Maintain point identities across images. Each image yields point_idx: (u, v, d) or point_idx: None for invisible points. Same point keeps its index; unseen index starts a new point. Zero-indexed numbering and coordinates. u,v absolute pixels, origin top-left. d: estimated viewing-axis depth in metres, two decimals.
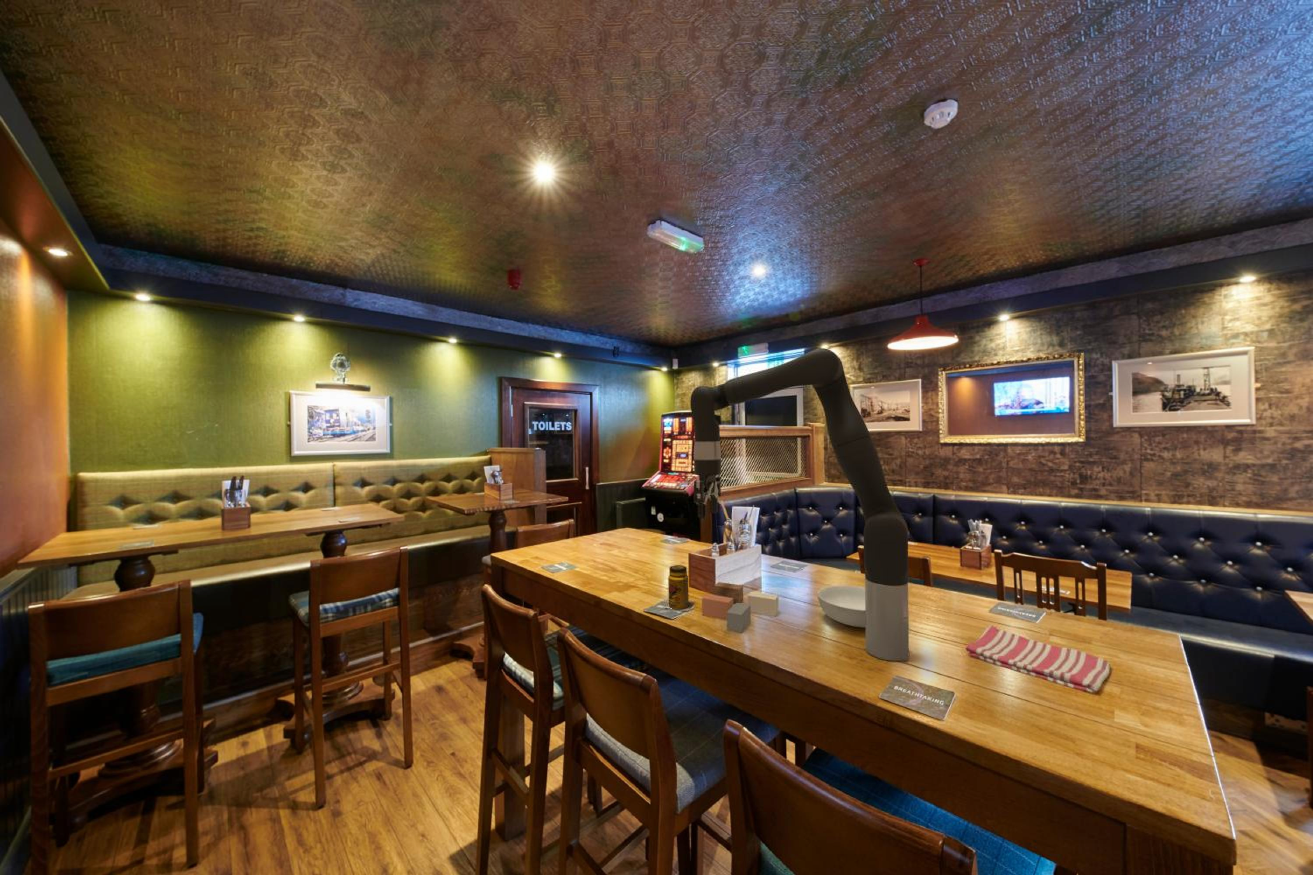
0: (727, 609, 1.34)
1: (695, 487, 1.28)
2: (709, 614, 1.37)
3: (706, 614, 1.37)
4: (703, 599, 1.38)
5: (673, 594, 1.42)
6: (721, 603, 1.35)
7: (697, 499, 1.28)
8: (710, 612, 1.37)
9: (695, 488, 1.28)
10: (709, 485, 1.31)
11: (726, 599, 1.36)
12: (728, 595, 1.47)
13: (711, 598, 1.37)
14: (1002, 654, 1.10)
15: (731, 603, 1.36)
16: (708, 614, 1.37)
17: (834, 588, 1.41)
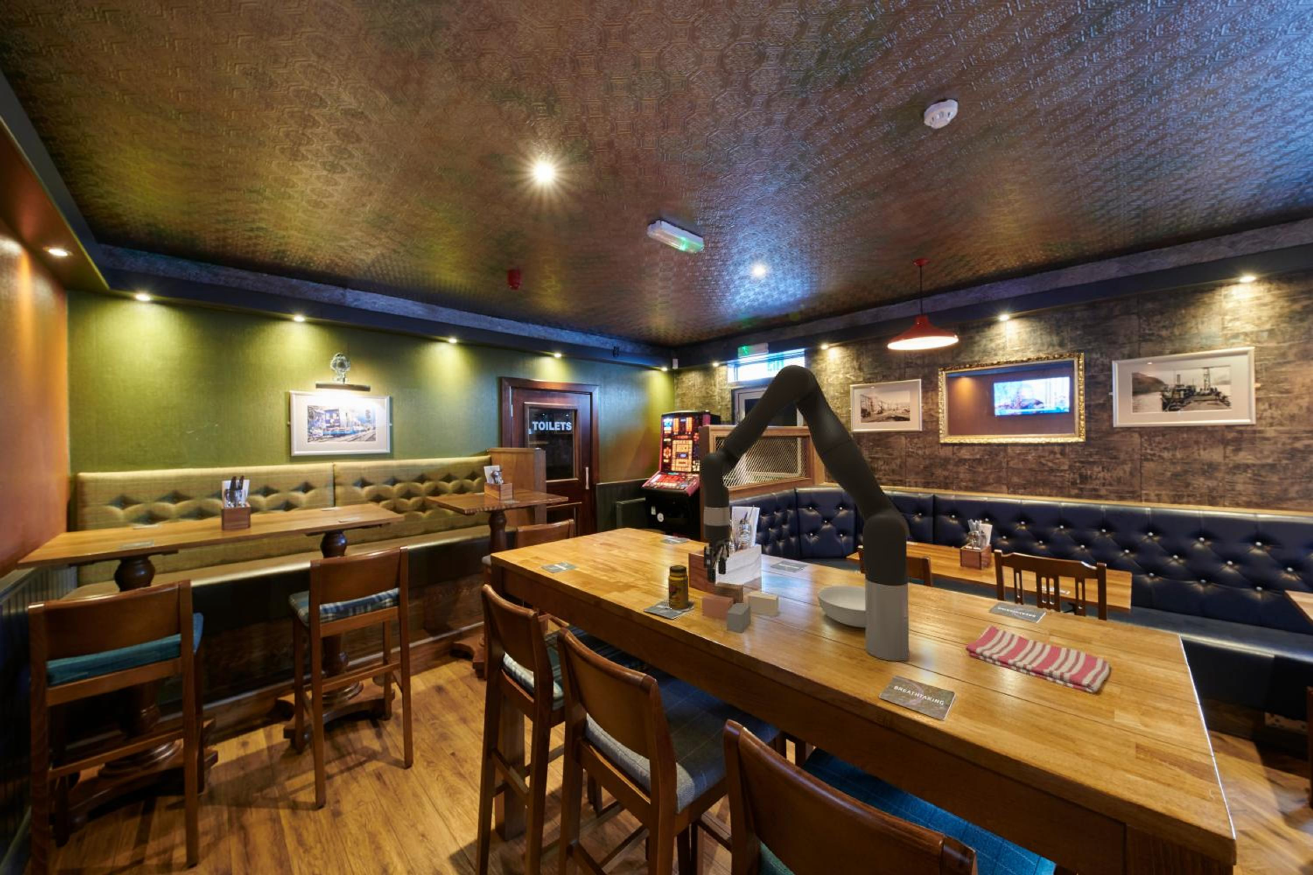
0: (727, 609, 1.34)
1: (705, 553, 1.32)
2: (709, 614, 1.37)
3: (706, 614, 1.37)
4: (703, 599, 1.38)
5: (673, 594, 1.42)
6: (721, 603, 1.35)
7: (707, 565, 1.31)
8: (710, 612, 1.37)
9: (705, 554, 1.32)
10: (718, 550, 1.35)
11: (726, 599, 1.36)
12: (728, 595, 1.47)
13: (711, 598, 1.37)
14: (1002, 654, 1.10)
15: (731, 603, 1.36)
16: (708, 614, 1.37)
17: (834, 588, 1.41)
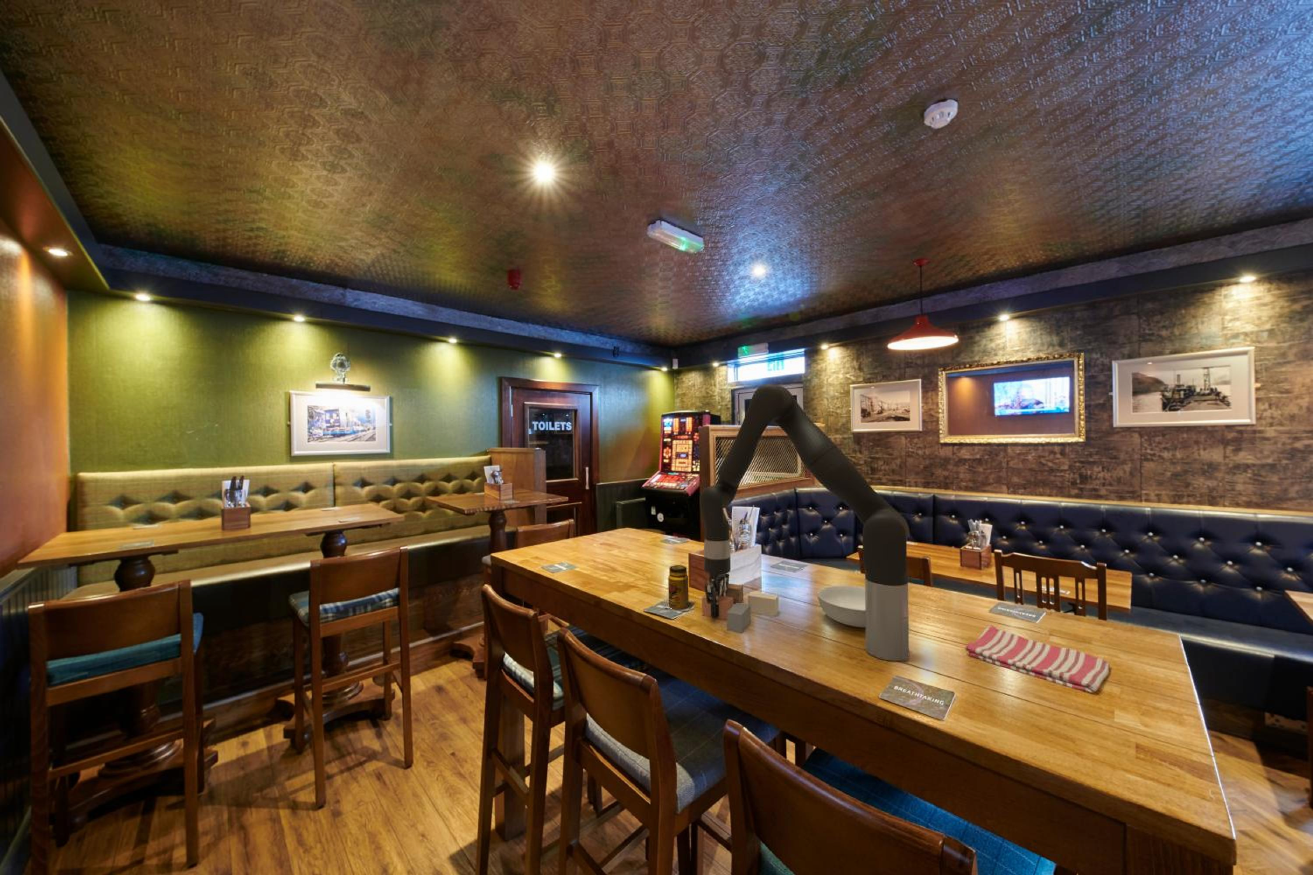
0: (727, 609, 1.34)
1: (707, 591, 1.32)
2: (709, 613, 1.37)
3: (706, 614, 1.37)
4: (703, 599, 1.38)
5: (673, 594, 1.42)
6: (721, 603, 1.35)
7: (710, 600, 1.33)
8: (710, 612, 1.37)
9: (707, 592, 1.33)
10: (719, 584, 1.35)
11: (726, 599, 1.36)
12: (728, 595, 1.47)
13: None
14: (1001, 654, 1.10)
15: (731, 603, 1.36)
16: (708, 614, 1.37)
17: (834, 588, 1.41)
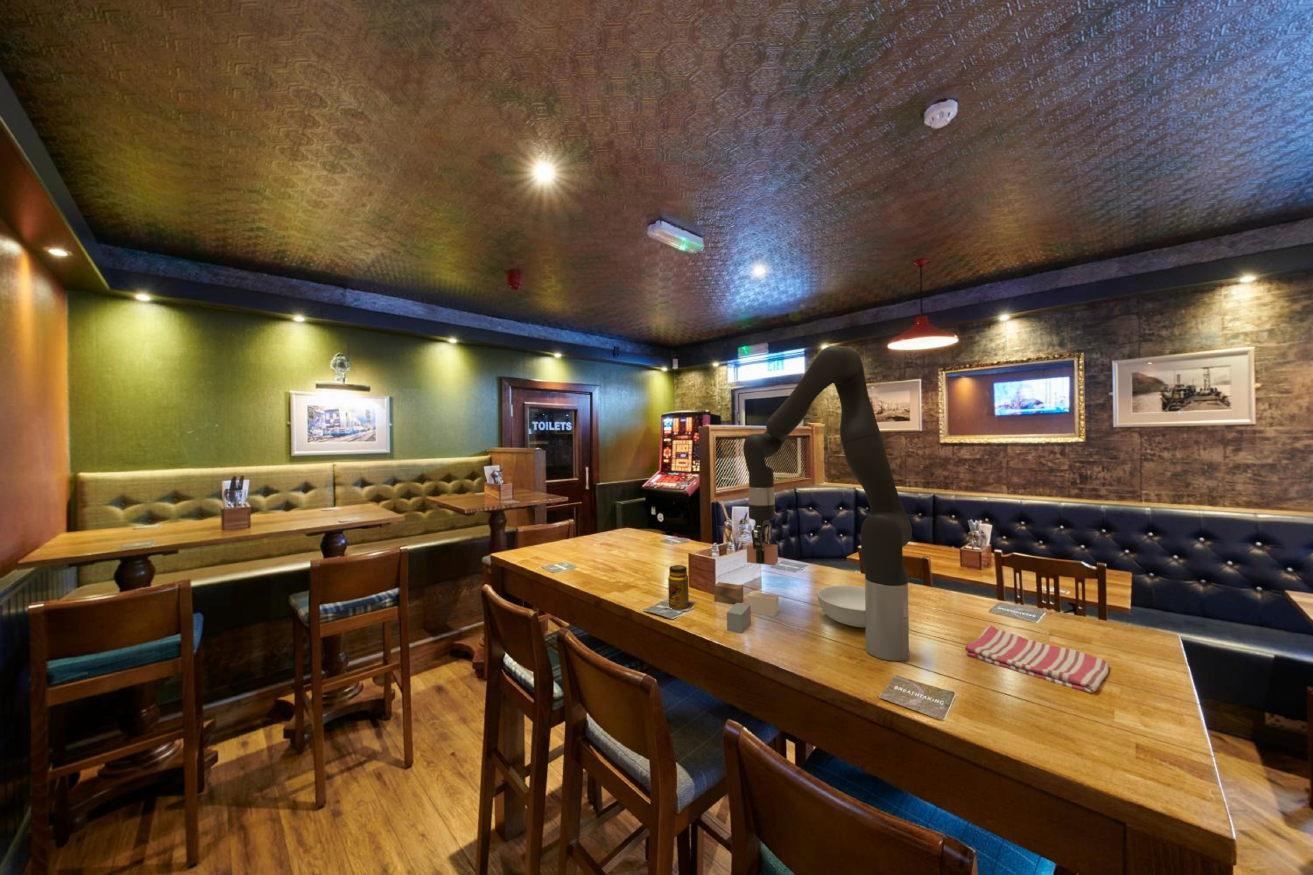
0: (773, 554, 1.36)
1: (753, 537, 1.34)
2: (754, 560, 1.38)
3: (751, 561, 1.39)
4: (748, 546, 1.39)
5: (673, 594, 1.42)
6: (767, 549, 1.36)
7: (756, 546, 1.35)
8: (755, 559, 1.38)
9: (753, 538, 1.34)
10: (764, 530, 1.37)
11: (770, 545, 1.38)
12: (728, 595, 1.47)
13: None
14: (1001, 654, 1.10)
15: (776, 549, 1.38)
16: (753, 561, 1.38)
17: (833, 588, 1.41)
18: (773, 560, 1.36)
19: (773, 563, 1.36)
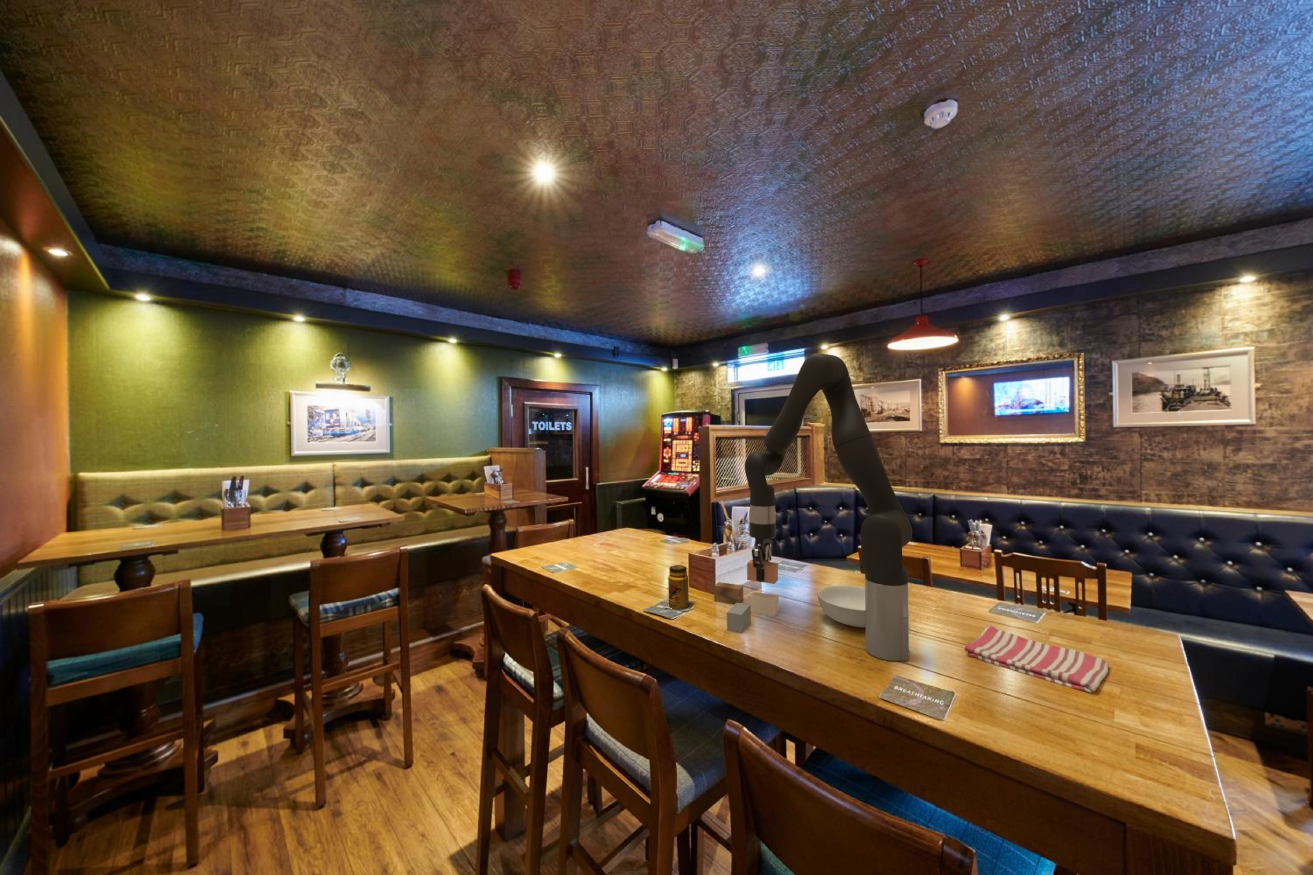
0: (773, 573, 1.36)
1: (753, 555, 1.34)
2: (754, 578, 1.39)
3: (751, 578, 1.39)
4: (748, 564, 1.39)
5: (673, 594, 1.42)
6: (767, 567, 1.37)
7: (757, 564, 1.35)
8: (755, 577, 1.38)
9: (753, 556, 1.34)
10: (765, 549, 1.37)
11: (771, 564, 1.38)
12: (728, 595, 1.47)
13: None
14: (1000, 654, 1.10)
15: (776, 567, 1.38)
16: (753, 578, 1.39)
17: (833, 588, 1.41)
18: (773, 578, 1.36)
19: (773, 581, 1.36)
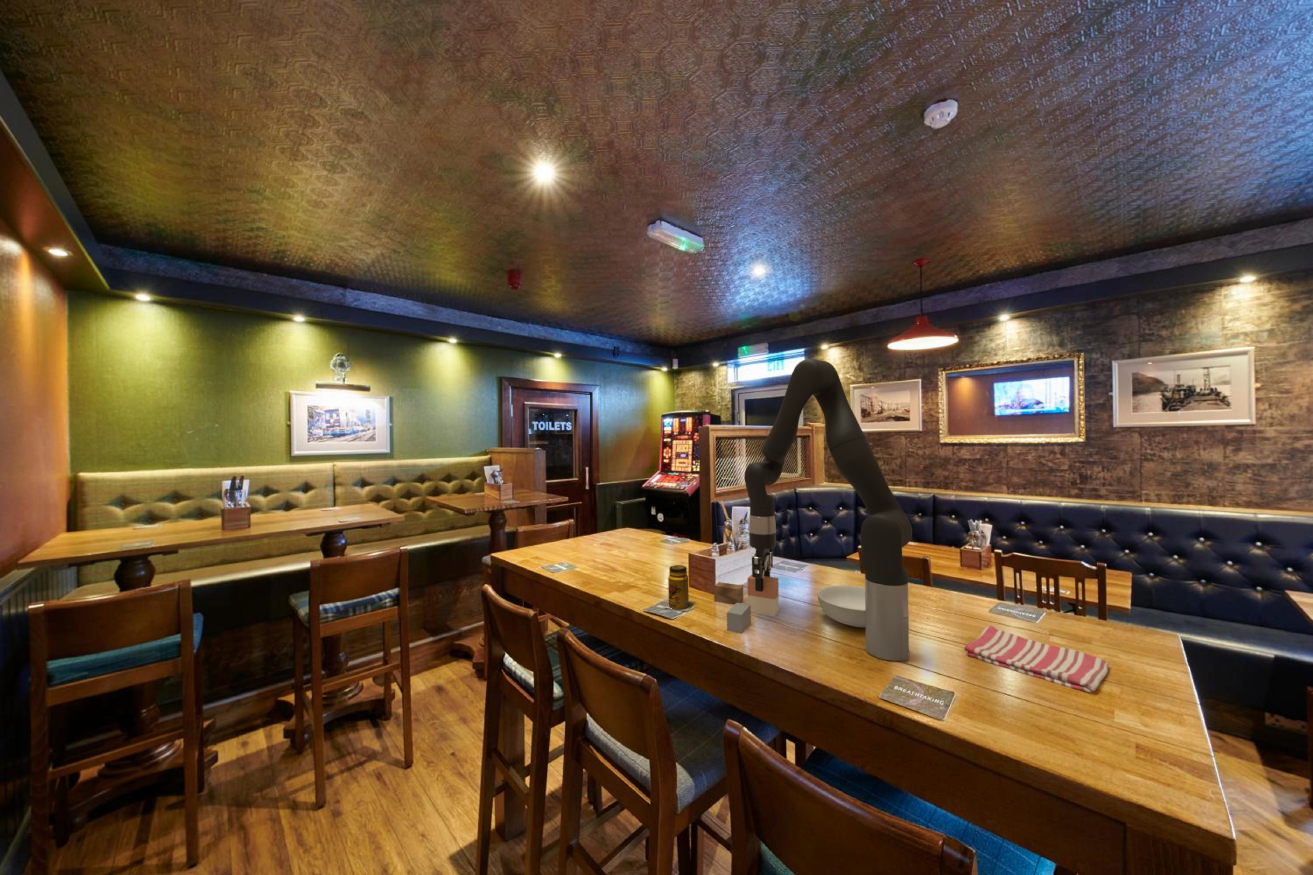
0: (773, 588, 1.36)
1: (753, 563, 1.34)
2: (754, 593, 1.39)
3: (751, 594, 1.39)
4: (748, 579, 1.39)
5: (673, 594, 1.42)
6: (767, 583, 1.37)
7: (756, 574, 1.34)
8: (755, 592, 1.38)
9: (753, 564, 1.34)
10: (765, 558, 1.37)
11: (771, 579, 1.38)
12: (728, 595, 1.47)
13: None
14: (1000, 654, 1.10)
15: (777, 583, 1.38)
16: (754, 594, 1.39)
17: (833, 588, 1.41)
18: (774, 594, 1.36)
19: (774, 597, 1.36)
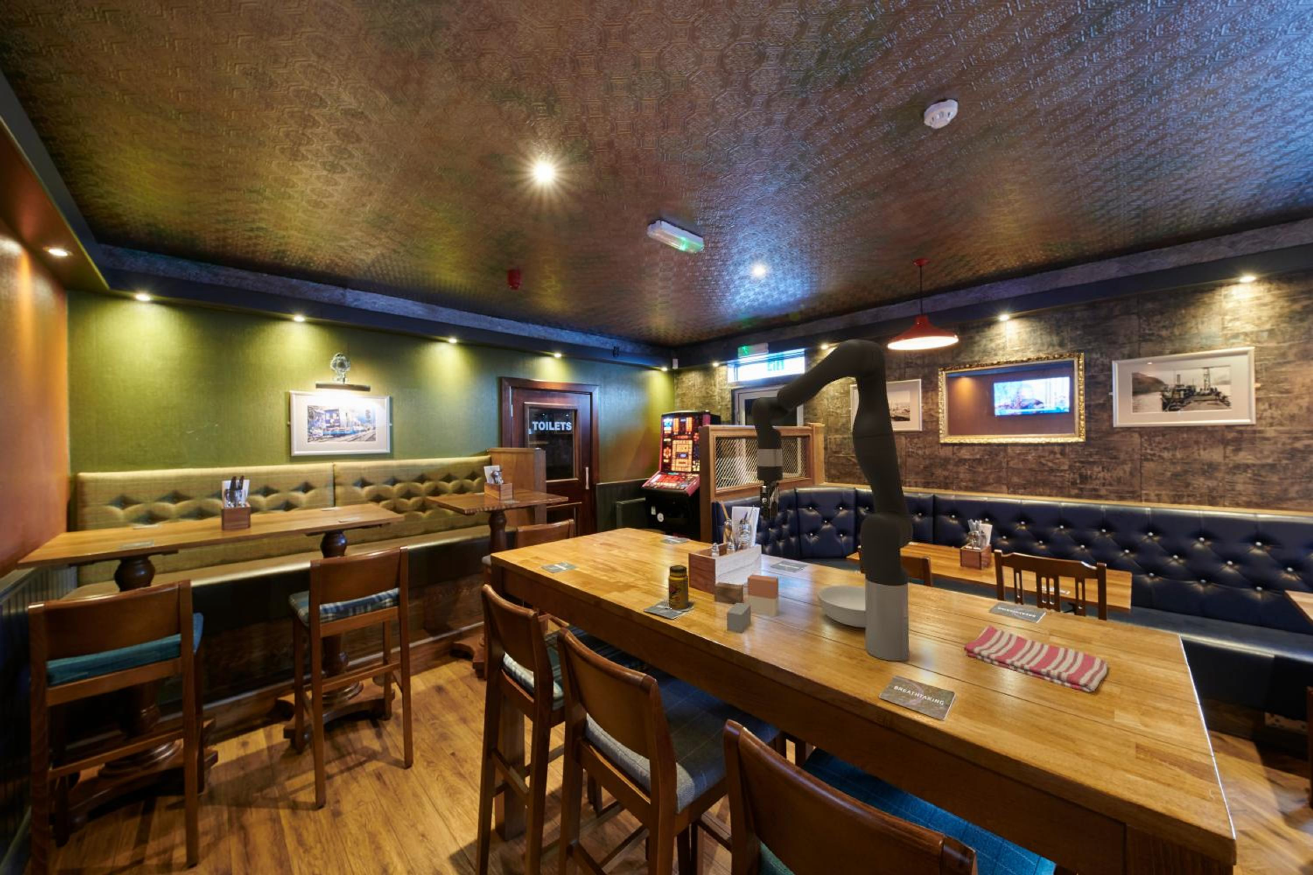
0: (773, 588, 1.36)
1: (761, 492, 1.37)
2: (754, 593, 1.39)
3: (752, 593, 1.39)
4: (748, 579, 1.39)
5: (673, 594, 1.42)
6: (767, 583, 1.37)
7: (763, 503, 1.37)
8: (755, 592, 1.38)
9: (761, 493, 1.37)
10: (773, 490, 1.40)
11: (771, 579, 1.38)
12: (728, 595, 1.47)
13: (756, 578, 1.39)
14: (1000, 654, 1.10)
15: (777, 583, 1.38)
16: (754, 593, 1.39)
17: (834, 588, 1.41)
18: (774, 594, 1.36)
19: (773, 597, 1.36)
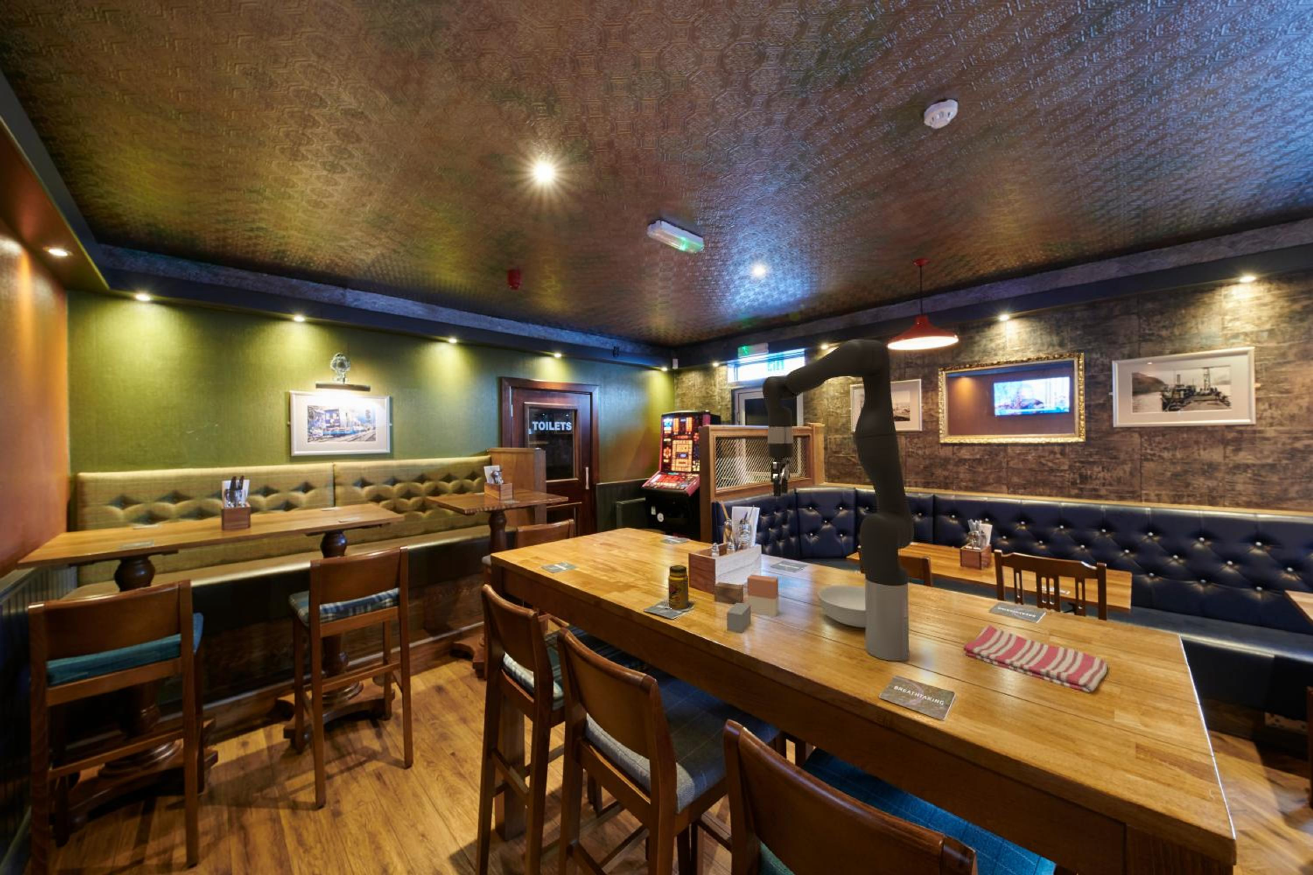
0: (773, 588, 1.36)
1: (772, 468, 1.41)
2: (754, 593, 1.39)
3: (751, 594, 1.39)
4: (748, 579, 1.39)
5: (673, 594, 1.42)
6: (767, 583, 1.37)
7: (774, 479, 1.40)
8: (755, 592, 1.38)
9: (772, 469, 1.41)
10: (783, 467, 1.44)
11: (771, 579, 1.38)
12: (729, 595, 1.47)
13: (756, 578, 1.39)
14: (999, 654, 1.10)
15: (776, 583, 1.38)
16: (753, 594, 1.39)
17: (834, 588, 1.41)
18: (773, 594, 1.36)
19: (773, 597, 1.36)
